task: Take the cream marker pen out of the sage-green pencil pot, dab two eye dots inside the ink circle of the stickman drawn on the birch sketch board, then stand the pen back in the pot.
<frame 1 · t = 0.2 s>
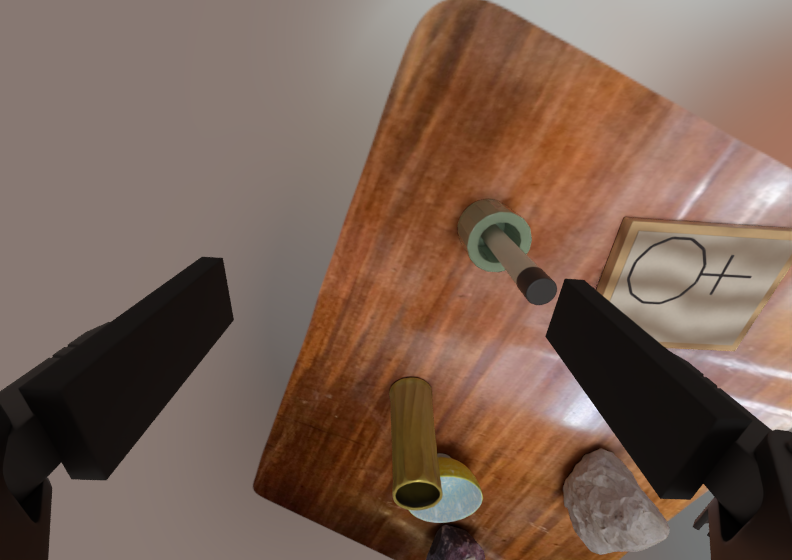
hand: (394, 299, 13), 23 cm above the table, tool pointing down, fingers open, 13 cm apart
pen: (486, 228, 35), point 1 cm above the table, touching pencil pot
pencil pot: (484, 226, 36), on the table
mineral specimen: (450, 531, 63), on the table
bowl: (438, 460, 53), on the table
sketch board: (679, 287, 39), on the table
rough grey rock: (584, 469, 55), on the table
vase: (410, 391, 47), on the table
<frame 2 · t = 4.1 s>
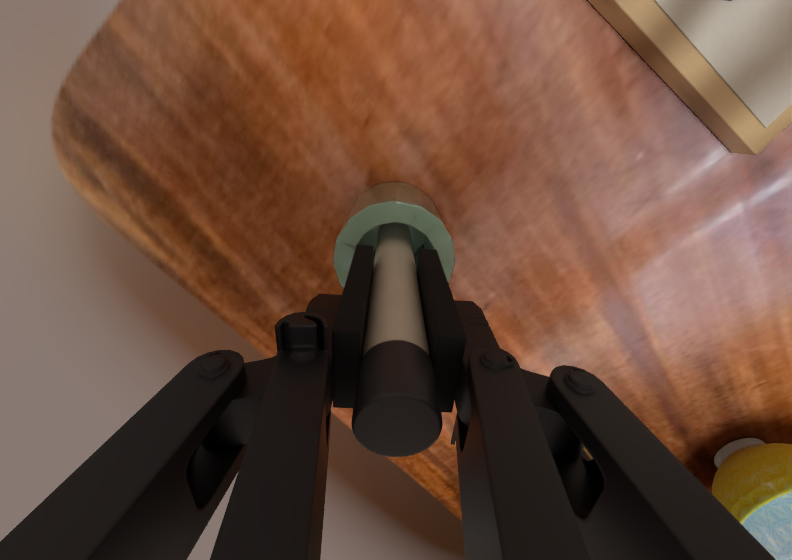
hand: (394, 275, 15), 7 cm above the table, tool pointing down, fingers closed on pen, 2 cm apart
pen: (394, 231, 21), point 1 cm above the table, touching gripper, pencil pot
pencil pot: (393, 229, 21), on the table
bowl: (736, 450, 31), on the table
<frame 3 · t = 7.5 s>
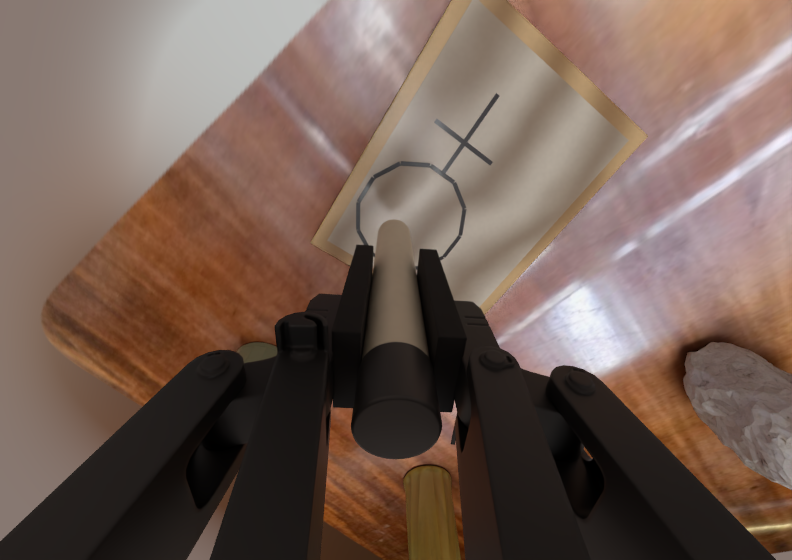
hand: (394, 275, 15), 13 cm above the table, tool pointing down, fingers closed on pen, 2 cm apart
pen: (393, 232, 21), point 6 cm above the table, touching gripper
pencil pot: (262, 365, 33), on the table
sketch board: (464, 189, 25), on the table
rough grey rock: (718, 373, 35), on the table
vase: (426, 478, 42), on the table
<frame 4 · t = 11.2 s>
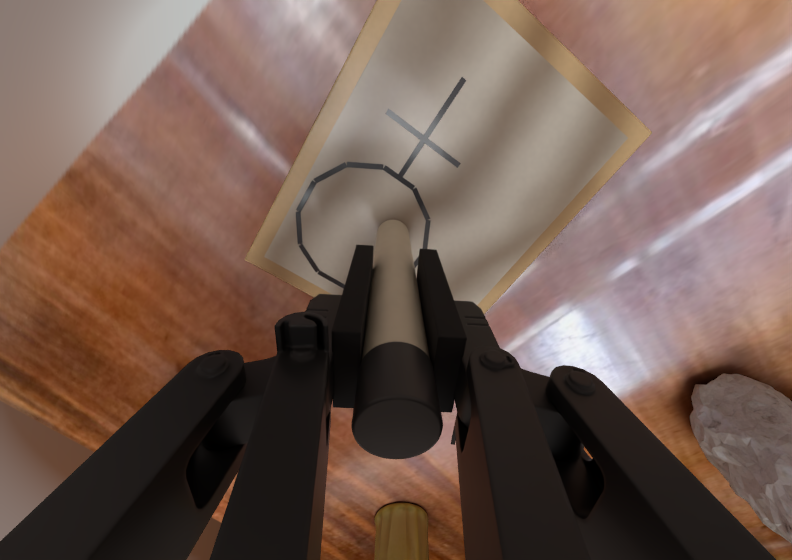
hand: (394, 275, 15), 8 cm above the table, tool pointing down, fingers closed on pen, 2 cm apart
pen: (392, 232, 21), point 2 cm above the table, touching gripper, sketch board
sketch board: (430, 196, 21), on the table
rough grey rock: (729, 406, 30), on the table
vase: (401, 515, 37), on the table
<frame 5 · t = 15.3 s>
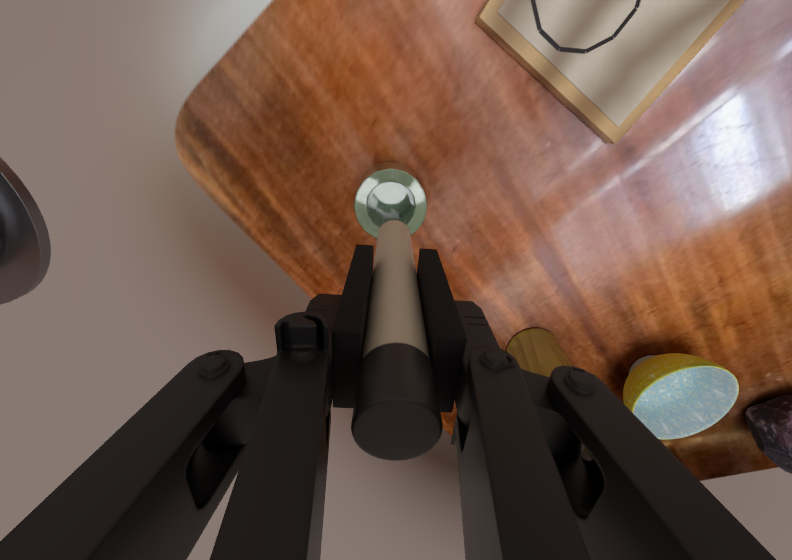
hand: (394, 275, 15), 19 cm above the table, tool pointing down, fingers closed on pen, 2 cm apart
pen: (393, 233, 20), point 13 cm above the table, touching gripper
pencil pot: (390, 193, 32), on the table
mineral specimen: (768, 407, 46), on the table
bowl: (645, 367, 42), on the table
vase: (530, 346, 41), on the table
when the fingers open (7 cm above the table, at t = 18.2 s): pen stays where it is, resting on pencil pot.
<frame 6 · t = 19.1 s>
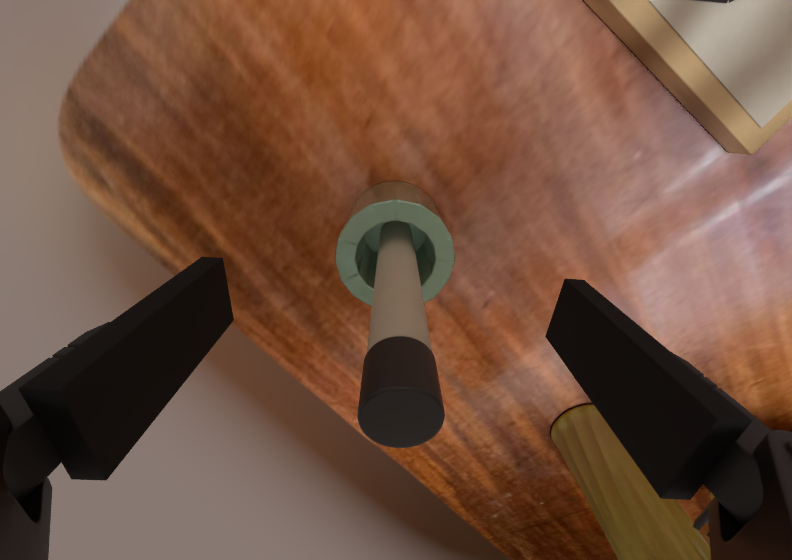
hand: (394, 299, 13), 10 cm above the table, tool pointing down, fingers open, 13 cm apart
pen: (396, 232, 21), point 1 cm above the table, touching pencil pot
pencil pot: (394, 227, 21), on the table
vase: (582, 425, 30), on the table
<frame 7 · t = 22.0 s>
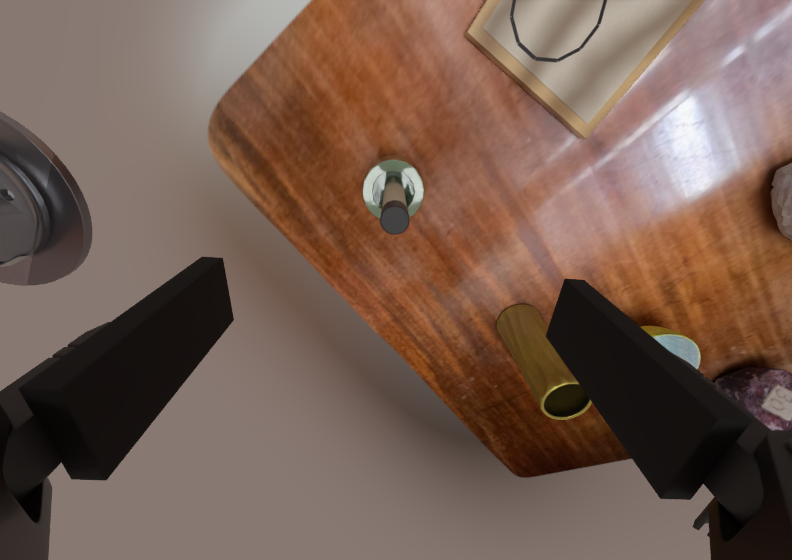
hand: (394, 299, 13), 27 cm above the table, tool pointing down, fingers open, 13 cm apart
pen: (393, 184, 36), point 1 cm above the table, touching pencil pot
pencil pot: (393, 182, 37), on the table
mineral specimen: (735, 379, 51), on the table
bowl: (621, 340, 47), on the table
vase: (517, 321, 45), on the table
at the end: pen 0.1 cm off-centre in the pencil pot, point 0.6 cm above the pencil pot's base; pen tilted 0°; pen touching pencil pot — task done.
